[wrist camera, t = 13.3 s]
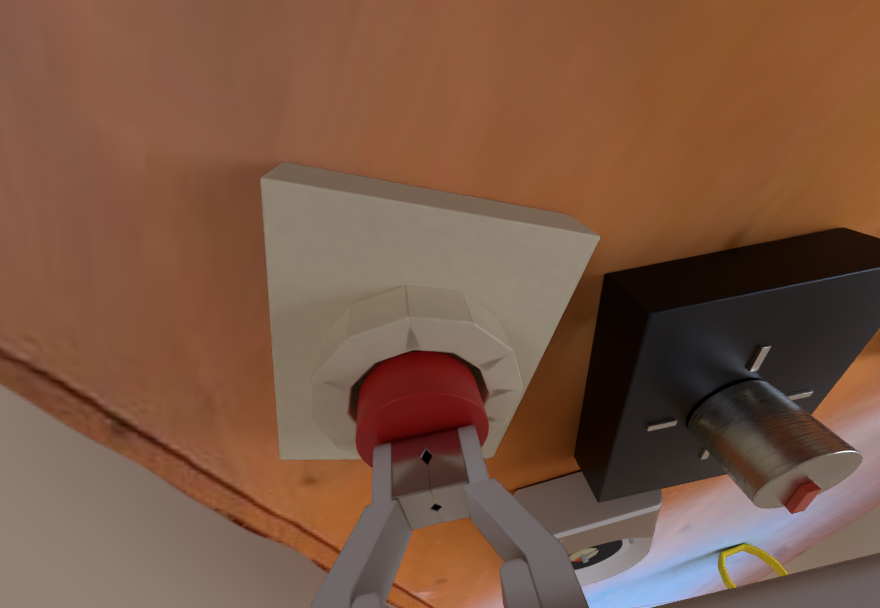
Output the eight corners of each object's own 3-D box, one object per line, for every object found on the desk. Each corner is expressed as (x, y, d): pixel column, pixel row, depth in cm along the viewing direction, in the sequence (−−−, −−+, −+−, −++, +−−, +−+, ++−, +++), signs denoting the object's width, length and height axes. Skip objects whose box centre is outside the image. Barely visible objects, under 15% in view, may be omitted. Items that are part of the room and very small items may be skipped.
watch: (704, 559, 39) (751, 627, 34) (709, 550, 37) (759, 620, 32) (754, 545, 39) (808, 612, 34) (761, 536, 37) (819, 605, 32)
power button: (364, 345, 10) (361, 390, 8) (490, 354, 11) (506, 396, 9) (354, 431, 12) (350, 479, 10) (460, 432, 13) (470, 476, 11)
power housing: (281, 160, 10) (231, 197, 7) (569, 214, 12) (637, 260, 9) (291, 418, 16) (267, 503, 13) (482, 422, 18) (503, 495, 15)
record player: (688, 496, 20) (655, 588, 32) (654, 449, 23) (634, 550, 34) (505, 548, 21) (537, 620, 32) (492, 497, 23) (526, 580, 35)
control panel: (603, 273, 14) (653, 316, 11) (843, 226, 14) (945, 257, 12) (573, 456, 22) (599, 506, 19) (729, 422, 22) (775, 466, 20)
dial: (694, 395, 15) (779, 480, 11) (783, 368, 14) (894, 447, 11) (682, 444, 17) (750, 526, 14) (759, 421, 17) (846, 499, 14)
